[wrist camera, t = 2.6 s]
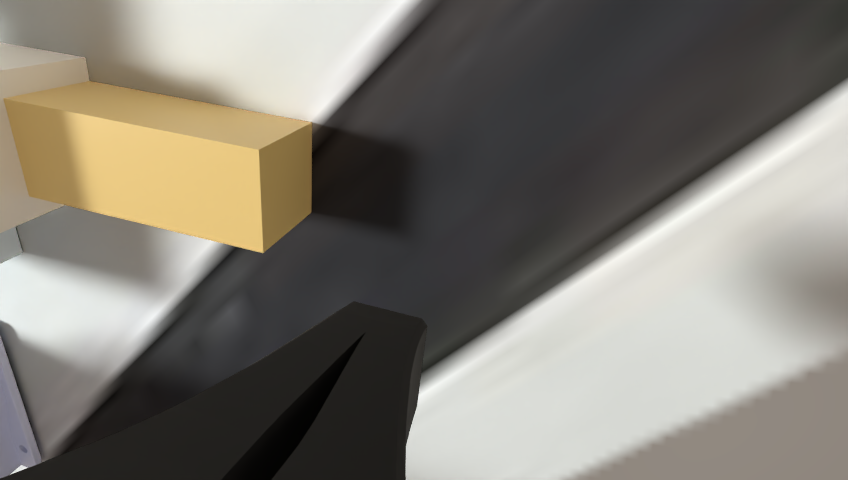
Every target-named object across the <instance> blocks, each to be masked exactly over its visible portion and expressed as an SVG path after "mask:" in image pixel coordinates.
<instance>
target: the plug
mask: <svg viewBox="0 0 848 480" xmlns="http://www.w3.org/2000/svg"><path fill="white" fill-rule="evenodd" d="M311 204H312V122H307V121H302V120H296V119H291V118H286V117H280V116H275V115H270V114H264V113H259V112H254V111H248V110H243V109H237V108H232V107H227V106H221V105H216V104H211V103H205V102H200V101H194V100H189V99H184V98H178V97H173V96H168V95H162V94H157V93H151V92H146V91H141V90H135V89H130V88H125V87H119V86H114V85H108V84H103V83H98V82H92V81H90V80H89V74H88V69H87V63H86V58H85V57H80V56H75V55H69V54H63V53H58V52H52V51H46V50H41V49H35V48H29V47H24V46H18V45H12V44H7V43H1V42H0V233H2V232H4V231H6V230H9V229H11V228H13V227H16V226H18V225H20V224H23V223H25V222H27V221H30V220H32V219H34V218H37V217H39V216H41V215H44V214H46V213H48V212H51V211H53V210H55V209H58V208H60V207H62V206H64V205H67V206H71V207H75V208H79V209H83V210H87V211H92V212H96V213H100V214H104V215H108V216H112V217H116V218H121V219H125V220H129V221H133V222H137V223H141V224H145V225H149V226H154V227H158V228H162V229H166V230H170V231H174V232H178V233H183V234H187V235H191V236H195V237H199V238H203V239H207V240H212V241H216V242H220V243H224V244H228V245H232V246H236V247H240V248H245V249H249V250H253V251H257V252H261V253H264V252H265V251H266V250H267V249H269V248H270V247H271V246H272V245H273V244H274V243H276V242H277V241H278V240H279V239H280V238H282V237H283V236H284V235H285V234H286V233H288V232H289V231H290V230H291V229H292V228H294V227H295V226H296V225H297V224H298V223H299V222H301V221H302V220H303V219H304V218H305V217H307V216H308V215H309V214H310V213H311Z"/></svg>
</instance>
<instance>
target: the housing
mask: <svg viewBox="0 0 848 480" xmlns="http://www.w3.org/2000/svg"><path fill="white" fill-rule="evenodd" d="M21 253H23V252H22V248H21V245H20V241H19V237H18V234H17V230H16V227H13V228H11V229H9V230H6V231H4V232H2V233H0V263H3V262H5V261H7V260H9V259H11V258H13V257H15V256H17V255H19V254H21Z"/></svg>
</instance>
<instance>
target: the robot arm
mask: <svg viewBox="0 0 848 480" xmlns="http://www.w3.org/2000/svg"><path fill="white" fill-rule="evenodd" d="M426 333H427V325H426V324H425V322H424V321H423V320H422V319H421V318H417V317H413V316H409V315H405V314H401V313H397V312H393V311H389V310H386V309H382V308H378V307H374V306H370V305H366V304H362V303H358V302H352V303H350V304H349V305H347V306H345V307H344V308H342V309H340V310H339V311H337V312H336V313H334V314H332V315H331V316H329V317H328V318H326V319H325V320H323V321H321V322H320V323H318V324H317V325H315V326H314V327H312V328H310V329H309V330H307V331H306V332H304V333H303V334H301V335H299V336H298V337H296V338H295V339H293V340H292V341H290V342H288V343H287V344H285V345H283V346H282V347H280V348H278V349H277V350H275V351H273V352H272V353H270V354H269V355H267V356H265V357H264V358H262V359H260V360H259V361H257V362H255V363H254V364H252V365H250V366H249V367H247V368H245V369H243V370H242V371H240V372H238V373H236V374H234V375H232V376H231V377H229V378H227V379H225V380H223V381H221V382H220V383H218V384H216V385H214V386H212V387H211V388H209V389H207V390H205V391H203V392H201V393H200V394H198V395H196V396H194V397H192V398H190V399H188V400H186V401H184V402H182V403H180V404H178V405H176V406H174V407H172V408H170V409H168V410H166V411H164V412H162V413H159V414H157V415H155V416H153V417H151V418H149V419H146V420H144V421H142V422H140V423H137V424H135V425H133V426H131V427H129V428H126V429H124V430H122V431H120V432H117V433H115V434H113V435H111V436H108V437H106V438H103V439H101V440H99V441H96V442H94V443H91V444H89V445H86V446H83V447H81V448H78V449H76V450H73V451H71V452H68V453H65V454H63V455H60V456H58V457H55V458H52V459H50V460H47V461H45V462H42V460H41V456H40V453H39V450H38V447H37V444H36V441H35V438H34V435H33V432H32V429H31V426H30V423H29V420H28V417H27V414H26V411H25V408H24V405H23V402H22V399H21V396H20V393H19V390H18V387H17V384H16V381H15V378H14V375H13V372H12V369H11V366H10V363H9V360H8V357H7V354H6V351H5V348H4V345H3V342H2V339H1V336H0V480H406V477H405V460H406V443H407V439H408V435H409V431H410V427H411V424H412V421H413V417H414V414H415V411H416V407H417V401H418V394H419V386H420V379H421V371H422V363H423V356H424V348H425V341H426ZM41 462H42V463H41ZM20 465H23V466H26V467H29V468H27V469H24V470H22V471H19V472H16V473H14V474H11V473H12V472H13V471H14V470H16V469H17V468H18V467H19V466H20ZM10 474H11V475H10Z"/></svg>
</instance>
